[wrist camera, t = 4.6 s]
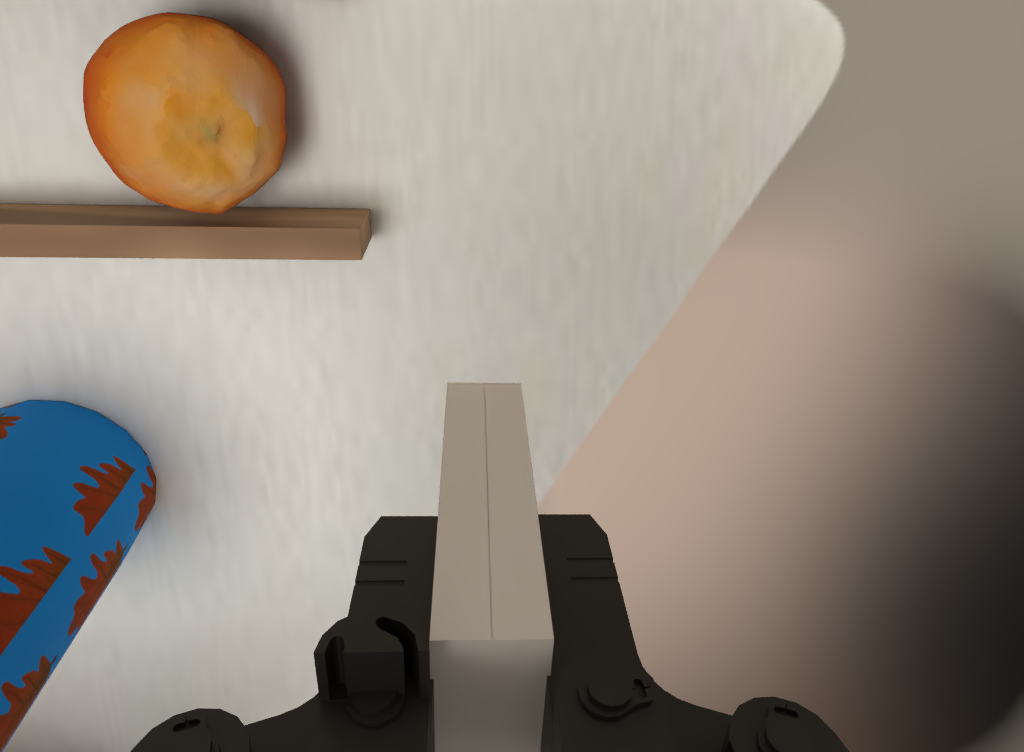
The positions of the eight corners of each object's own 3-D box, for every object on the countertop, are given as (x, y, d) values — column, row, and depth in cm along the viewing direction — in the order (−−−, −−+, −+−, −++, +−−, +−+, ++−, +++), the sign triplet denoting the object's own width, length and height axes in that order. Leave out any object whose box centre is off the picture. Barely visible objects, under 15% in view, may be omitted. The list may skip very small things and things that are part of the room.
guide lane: (371, 237, 36) (357, 269, 32) (-159, 231, 34) (-261, 264, 30) (354, -39, 31) (334, -52, 26) (-277, -65, 29) (-427, -84, 24)
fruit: (71, -32, 29) (100, -6, 24) (261, 23, 34) (320, 55, 29) (65, 159, 32) (89, 219, 27) (238, 183, 37) (288, 239, 32)
